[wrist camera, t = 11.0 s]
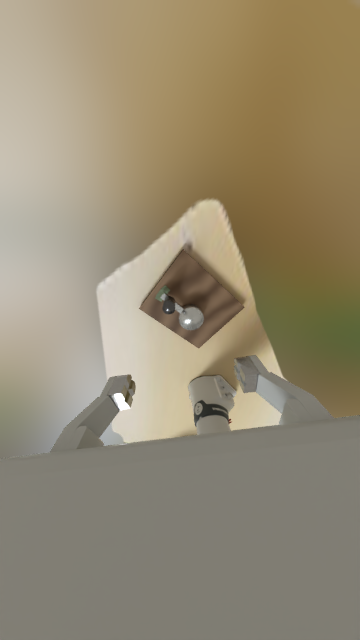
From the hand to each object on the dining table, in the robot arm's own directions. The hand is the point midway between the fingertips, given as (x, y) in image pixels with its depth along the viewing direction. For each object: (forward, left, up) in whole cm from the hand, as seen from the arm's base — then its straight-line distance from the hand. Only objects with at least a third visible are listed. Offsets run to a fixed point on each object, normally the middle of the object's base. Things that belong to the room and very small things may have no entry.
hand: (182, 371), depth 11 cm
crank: (-5, +5, -29) cm, 30 cm away
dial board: (-8, +3, -31) cm, 32 cm away
